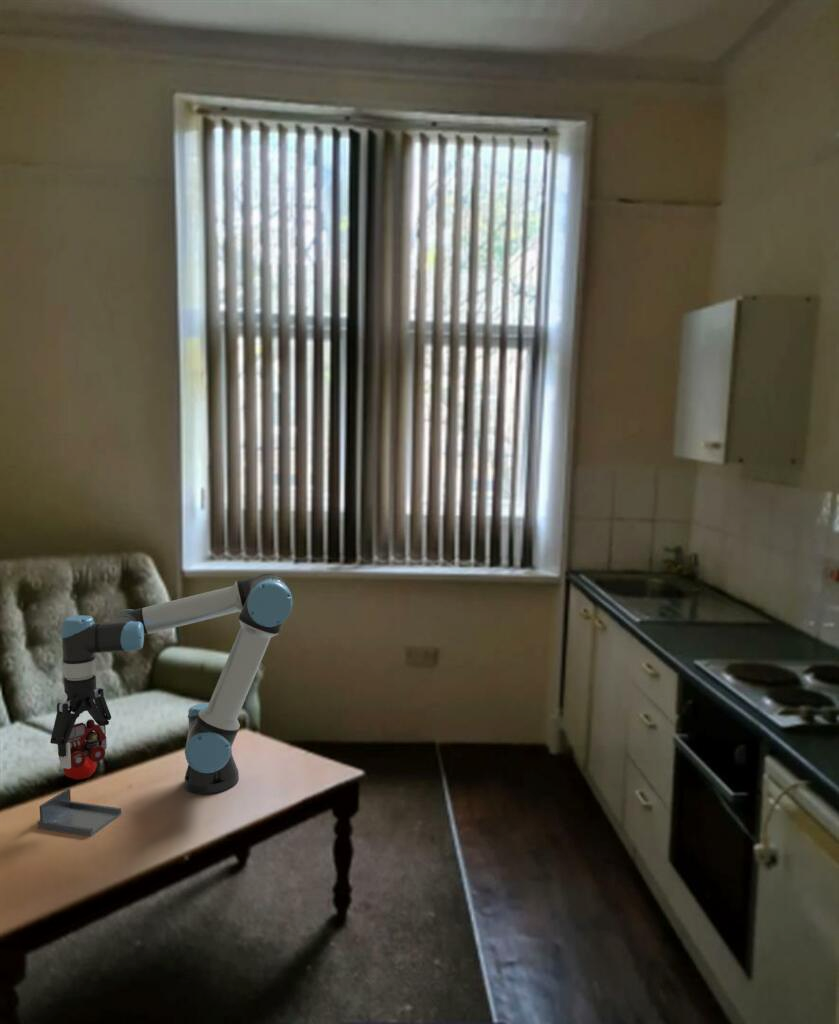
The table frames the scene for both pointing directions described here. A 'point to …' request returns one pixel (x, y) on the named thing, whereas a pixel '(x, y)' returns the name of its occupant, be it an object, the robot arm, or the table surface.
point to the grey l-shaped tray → (75, 815)
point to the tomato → (81, 770)
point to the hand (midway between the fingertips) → (83, 758)
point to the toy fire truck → (86, 743)
